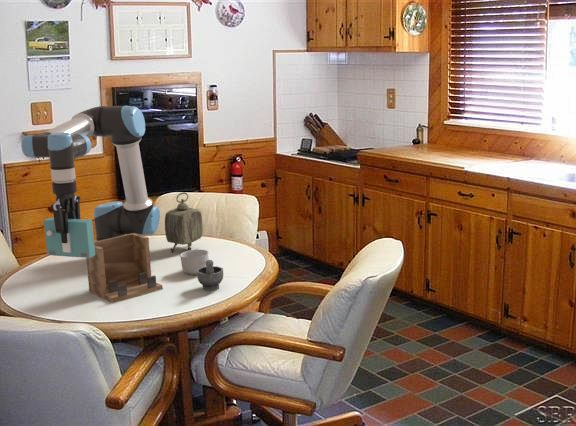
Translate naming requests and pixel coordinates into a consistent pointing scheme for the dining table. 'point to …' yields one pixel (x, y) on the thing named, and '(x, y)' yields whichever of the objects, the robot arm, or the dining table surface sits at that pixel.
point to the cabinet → (121, 268)
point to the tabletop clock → (183, 224)
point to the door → (71, 238)
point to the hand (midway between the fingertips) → (70, 250)
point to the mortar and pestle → (210, 276)
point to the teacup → (193, 260)
